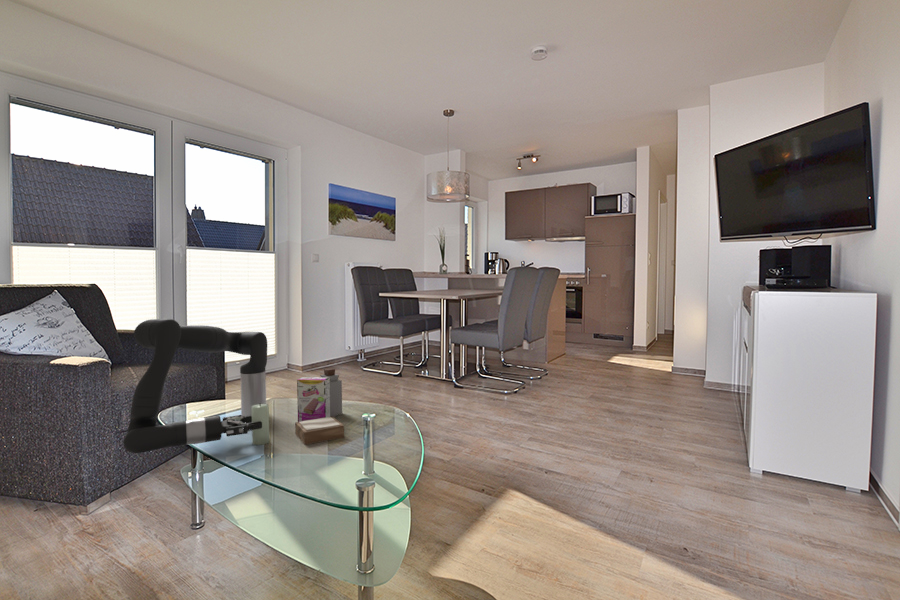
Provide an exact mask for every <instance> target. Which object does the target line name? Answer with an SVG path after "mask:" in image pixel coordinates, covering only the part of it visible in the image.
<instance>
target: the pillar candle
mask: <svg viewBox="0 0 900 600" xmlns="http://www.w3.org/2000/svg"><path fill="white" fill-rule="evenodd" d="M251 410H252V422H258V421H261V422H262V428H261V429H255V430H251V436H252V437H251V438H252V439H251V442H252V445H254V446H262V445H266V444H269V443H270V406H269V404H267V403H266V404H261V403H260V404H258V405H254V406H252V407H251Z"/></svg>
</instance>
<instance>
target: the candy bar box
mask: <svg viewBox="0 0 900 600" xmlns="http://www.w3.org/2000/svg"><path fill="white" fill-rule="evenodd" d="M296 389H297V390H296V391H297V395H296V396H297V397H296V398H297V422H300V421H307V420H313V419H319V418H325V417H330V378H327V377H321V376H320V377H317V376H316V377H315V376H302V377H299V378H298V379H296Z"/></svg>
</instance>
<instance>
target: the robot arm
mask: <svg viewBox="0 0 900 600" xmlns="http://www.w3.org/2000/svg"><path fill="white" fill-rule="evenodd" d="M133 337H134V339H135V342H136V343H137V344H138V345H140V347H142V348H145V349H149V350H154V353H153V358H152V360H151V362H150V364H149V365H148V368H147V369H146V371H145V373H144V374H143V375H142V377H141V378H140V380H139V382H138V383H137V385H136V387H135V390H134V392H133V398H132V401H131V408H130V420H129V425H128V429H127V433H126V434H125V436H124V438H123V442H122V445H123V447H124V449H125V450H126V451H127V452H128V453H130V454H142V453H147V452H151V451H155V450H161V449H165V448H175V447H180V446H187V445H198V444H199V445H200V444H204V443H210V442H217V441H220V440H221V439H222V434H226V437H233V436H240V435H247V434H249V433H248V432H250V431H252V430H255V429H261V428H262V422H261V421H258V422H252V410H251V407H252V406H254V405H258V404H260V403H261V404H267V381H266V379H267V378H266V367H267V362H268V338H267V336H266V334H265V333H264V332H260V331H239V332H238V331H237V332H233V331H227V330H225V329H224V328H222V327H219V326H218V327H217V326H211V325H203V324H202V325H200V324H199V325H194V324H193V325H180V324H179V322H178V321H176V320H175V319H173V318H155V319H154V318H152V319H146V320H144V321H142V322H141V323H139V324H138V325H137V326H136V327H135V328H134V331H133ZM177 349H180V350H187V351H192V352H200V353H216V354H217V353H222V352H229V353H235V354H238V355H243V356H249V360H248V362H247V363H243V364H242V365H241V366H240V368H239V370H240V371H239V373H240V375H239V376H240V377H239V378H240V401H241V402H240V412H241V413H240V414H239V415H232V416H226V417H221V415H212V416H206V417H200V418H192V419H189V420H183V421H178V422H177V421H176V422H172V423H167V424H165V425H163V424H162V425H157V417H158V414H159V412H160V406H161V402H162V395H163V393H164V392H163V390H164V386H165V384H166V380H167V376H168V373H169V370H170V369H171V366H172V363H173V360H174V358H175V354H176V352H177ZM221 418H222V420H221Z"/></svg>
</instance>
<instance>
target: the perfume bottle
mask: <svg viewBox="0 0 900 600" xmlns="http://www.w3.org/2000/svg"><path fill="white" fill-rule="evenodd" d="M323 372H324V374H320V375H319V376H320V377H327V378H330V417H331V416H333V417H335V416H336V417H337V416H339V415H338V414H341V413H342V414H343V387H342V385H343V383H342V382H343V381H342V380H341V379H339V377H340V374H337V373H336V369H335V368H330V367H329V368H325V369H323ZM342 414H341V415H342Z"/></svg>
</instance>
